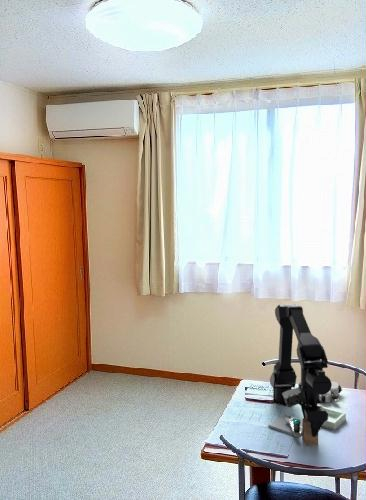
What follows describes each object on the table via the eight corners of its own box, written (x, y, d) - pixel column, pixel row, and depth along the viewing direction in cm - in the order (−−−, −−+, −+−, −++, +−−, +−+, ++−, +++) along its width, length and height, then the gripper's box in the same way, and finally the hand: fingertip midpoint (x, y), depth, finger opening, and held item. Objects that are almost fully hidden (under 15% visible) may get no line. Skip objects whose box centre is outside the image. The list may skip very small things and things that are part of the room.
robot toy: (340, 409, 172) (342, 391, 186) (340, 398, 172) (342, 380, 185) (306, 404, 177) (311, 387, 191) (306, 393, 176) (311, 377, 190)
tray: (307, 422, 161) (307, 415, 160) (319, 412, 168) (319, 405, 168) (334, 430, 154) (334, 423, 154) (345, 419, 162) (345, 413, 161)
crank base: (268, 427, 158) (268, 424, 158) (284, 415, 166) (284, 413, 166) (297, 437, 150) (297, 434, 150) (313, 424, 159) (313, 422, 159)
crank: (284, 420, 160) (284, 406, 159) (294, 420, 160) (294, 405, 159) (292, 438, 148) (292, 422, 147) (303, 438, 148) (303, 422, 147)
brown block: (302, 439, 149) (302, 418, 149) (314, 439, 149) (314, 418, 148) (305, 445, 145) (305, 424, 145) (318, 445, 145) (318, 423, 144)
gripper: (278, 371, 155) (279, 416, 156) (290, 394, 136) (290, 444, 138) (312, 371, 155) (312, 416, 156) (328, 393, 136) (328, 444, 137)
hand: (310, 429), depth 147 cm, fingers open, 9 cm apart
